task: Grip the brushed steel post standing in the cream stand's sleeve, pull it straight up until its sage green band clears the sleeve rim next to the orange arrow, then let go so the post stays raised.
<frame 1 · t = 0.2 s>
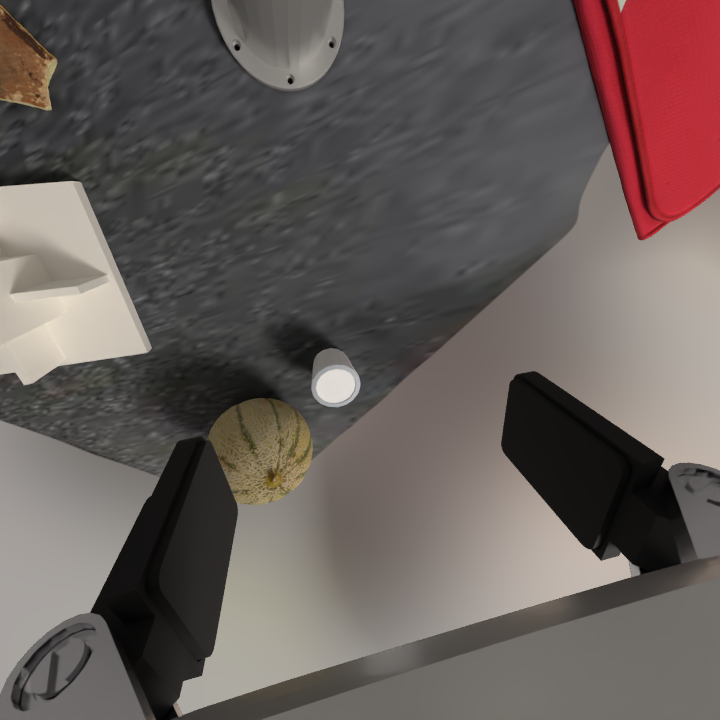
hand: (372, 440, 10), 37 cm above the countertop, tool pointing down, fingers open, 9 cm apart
shot glass: (330, 363, 50), on the countertop
cream stand: (29, 285, 37), on the countertop
dish drying mat: (649, 71, 41), on the countertop
cantaloupe: (265, 418, 52), on the countertop
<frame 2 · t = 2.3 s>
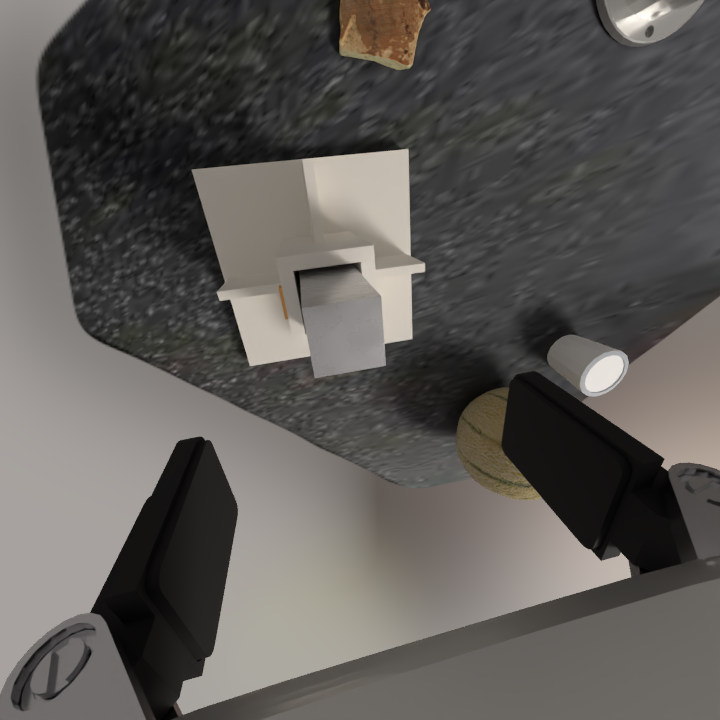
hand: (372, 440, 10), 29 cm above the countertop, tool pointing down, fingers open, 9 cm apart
shot glass: (563, 351, 47), on the countertop
cream stand: (320, 266, 35), on the countertop
steel post: (330, 294, 24), point 12 cm above the countertop, slide at 0.0 cm
shard: (362, 1, 27), on the countertop
cantaloupe: (483, 409, 49), on the countertop
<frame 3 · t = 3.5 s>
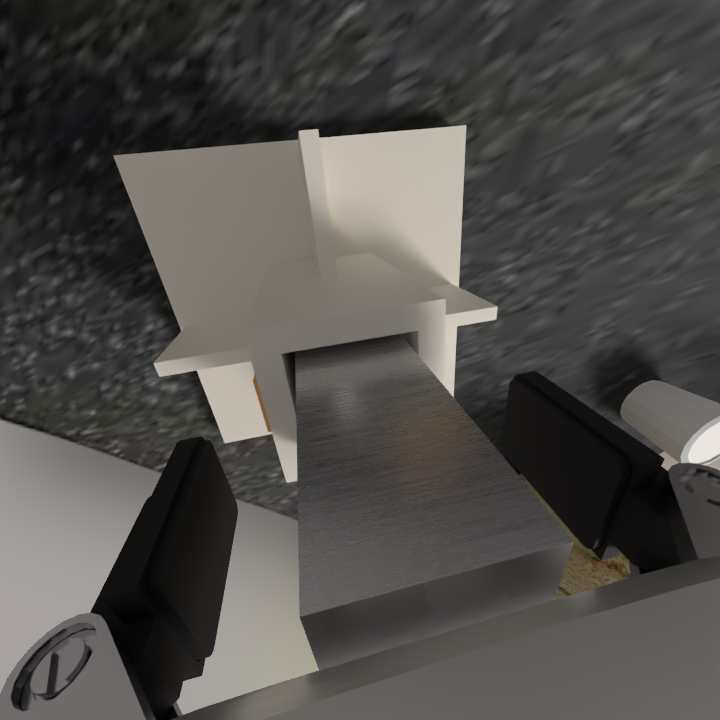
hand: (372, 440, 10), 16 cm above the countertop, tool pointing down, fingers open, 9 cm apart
shot glass: (640, 400, 36), on the countertop
cream stand: (325, 302, 24), on the countertop
steel post: (352, 380, 13), point 12 cm above the countertop, slide at 0.0 cm
cantaloupe: (535, 473, 38), on the countertop
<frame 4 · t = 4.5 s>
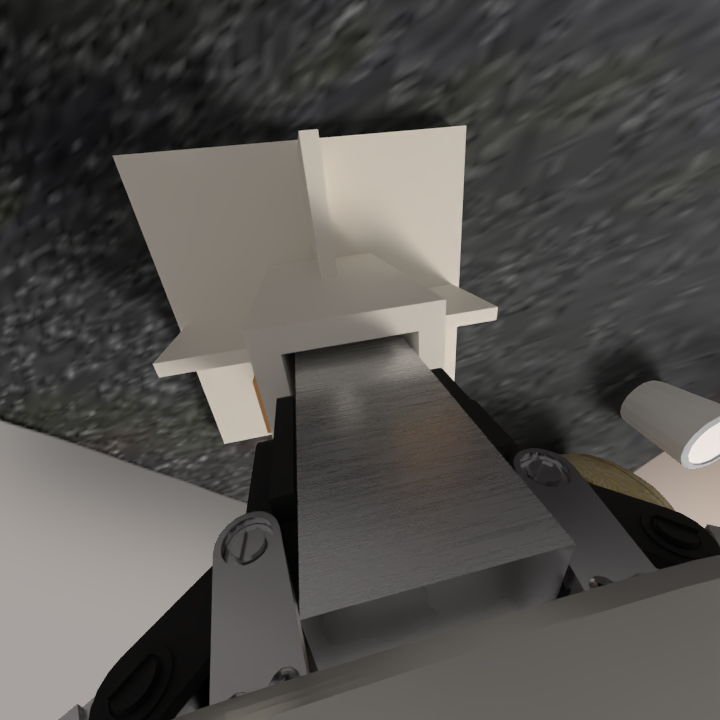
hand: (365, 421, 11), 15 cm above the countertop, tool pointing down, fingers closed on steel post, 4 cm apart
shot glass: (640, 400, 36), on the countertop
cream stand: (325, 302, 24), on the countertop
steel post: (352, 380, 13), point 12 cm above the countertop, slide at 0.0 cm, touching gripper
cantaloupe: (535, 473, 38), on the countertop
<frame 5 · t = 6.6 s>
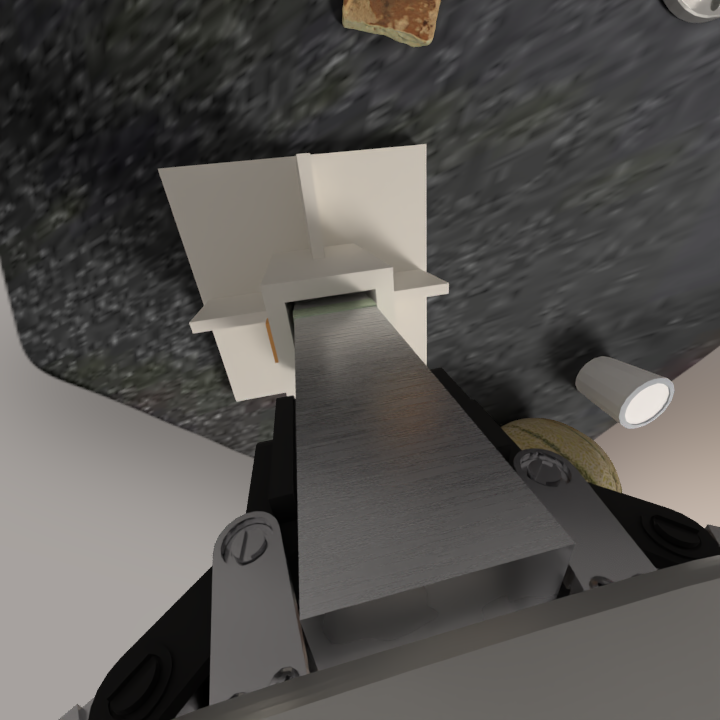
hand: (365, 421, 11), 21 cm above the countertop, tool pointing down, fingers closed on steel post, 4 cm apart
shot glass: (593, 374, 42), on the countertop
cream stand: (318, 284, 29), on the countertop
steel post: (351, 380, 13), point 18 cm above the countertop, slide at 6.4 cm, touching gripper
cantaloupe: (503, 439, 44), on the countertop
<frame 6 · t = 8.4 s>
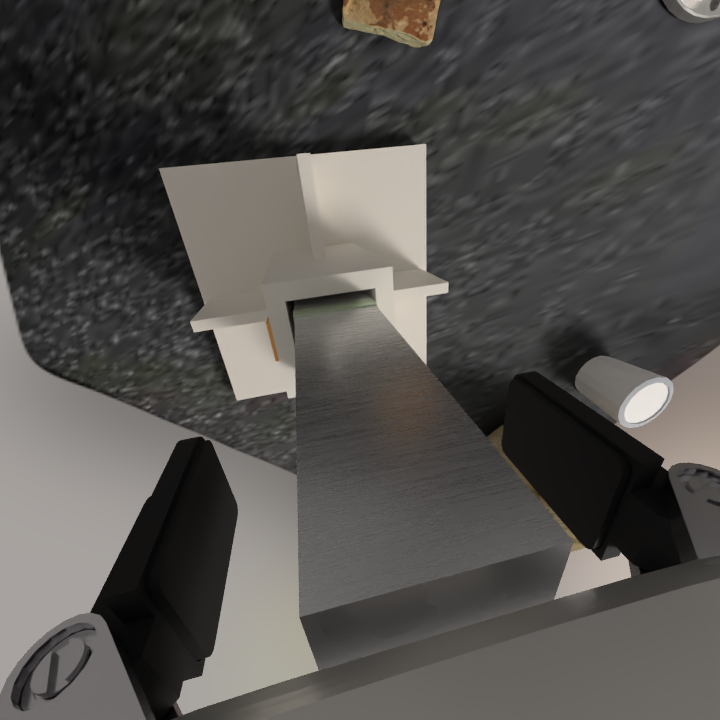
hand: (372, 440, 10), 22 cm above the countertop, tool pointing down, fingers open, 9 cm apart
shot glass: (592, 373, 42), on the countertop
cream stand: (319, 283, 29), on the countertop
steel post: (351, 380, 13), point 18 cm above the countertop, slide at 6.5 cm
cantaloupe: (503, 438, 44), on the countertop
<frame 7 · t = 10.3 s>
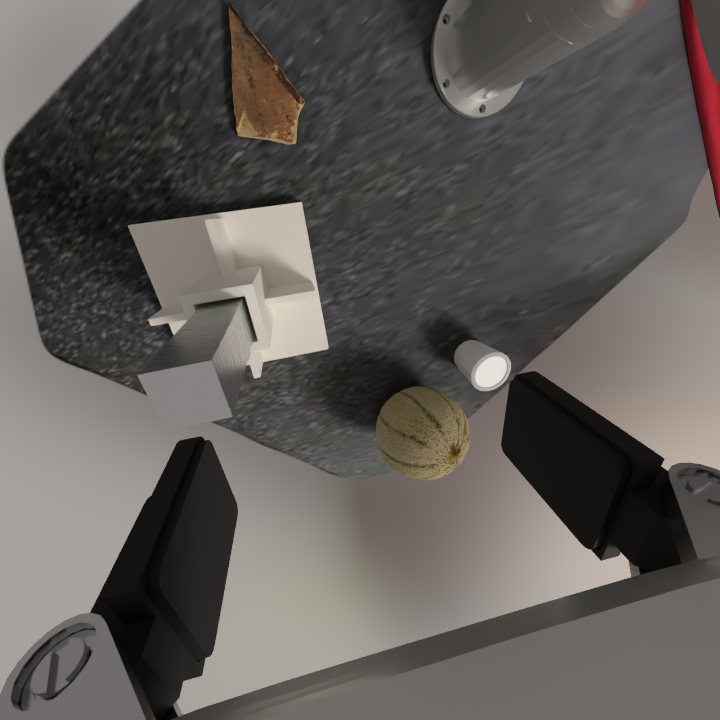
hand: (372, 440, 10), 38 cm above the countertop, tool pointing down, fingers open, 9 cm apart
shot glass: (467, 354, 55), on the countertop
cream stand: (243, 293, 43), on the countertop
steel post: (217, 342, 27), point 18 cm above the countertop, slide at 6.5 cm
shard: (253, 98, 35), on the countertop
cantaloupe: (405, 406, 57), on the countertop
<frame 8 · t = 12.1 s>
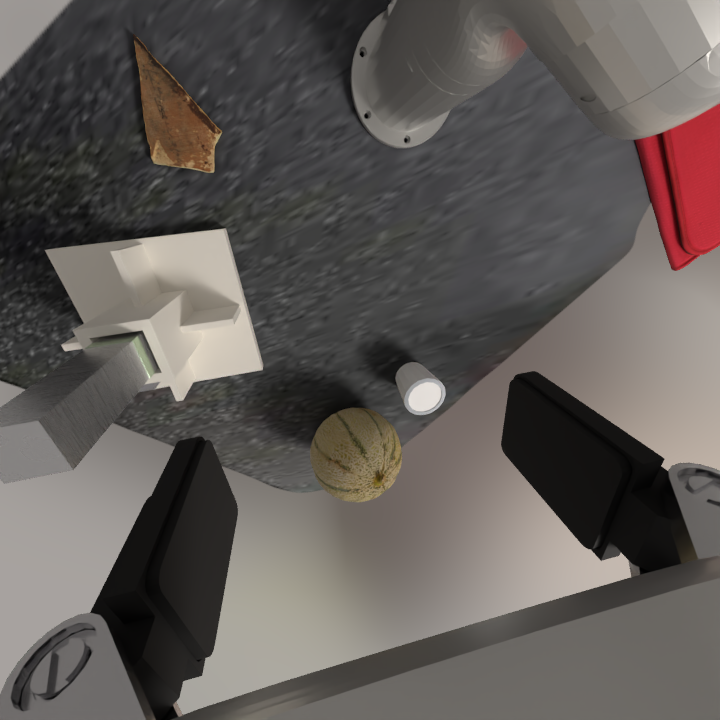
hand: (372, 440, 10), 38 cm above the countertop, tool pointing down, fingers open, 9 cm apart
shot glass: (410, 375, 56), on the countertop
cream stand: (172, 314, 43), on the countertop
steel post: (100, 380, 27), point 18 cm above the countertop, slide at 6.5 cm
dish drying mat: (683, 130, 46), on the countertop
shard: (170, 126, 35), on the countertop
cantaloupe: (349, 424, 58), on the countertop
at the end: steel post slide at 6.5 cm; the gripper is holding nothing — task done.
